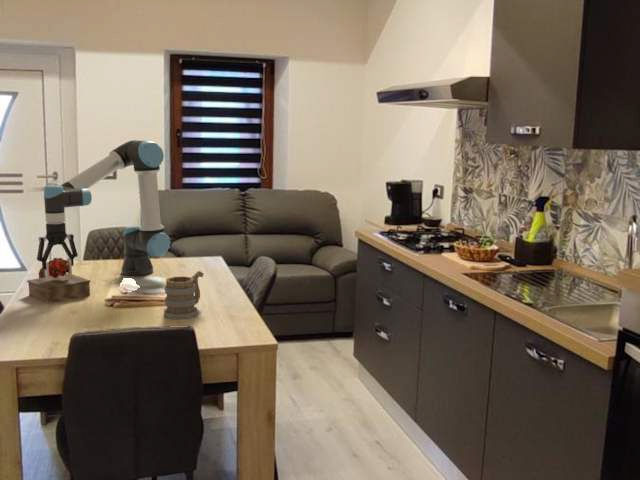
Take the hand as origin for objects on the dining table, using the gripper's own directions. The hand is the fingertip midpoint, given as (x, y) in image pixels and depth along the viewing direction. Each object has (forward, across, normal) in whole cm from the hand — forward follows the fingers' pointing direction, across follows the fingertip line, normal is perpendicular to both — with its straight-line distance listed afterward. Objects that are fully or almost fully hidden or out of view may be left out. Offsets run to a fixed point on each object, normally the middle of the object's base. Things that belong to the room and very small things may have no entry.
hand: (58, 275), depth 276 cm
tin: (+9, -5, -25) cm, 27 cm away
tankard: (+9, -30, +55) cm, 63 cm away
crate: (+9, 0, 0) cm, 9 cm away
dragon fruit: (+1, 0, 0) cm, 1 cm away
